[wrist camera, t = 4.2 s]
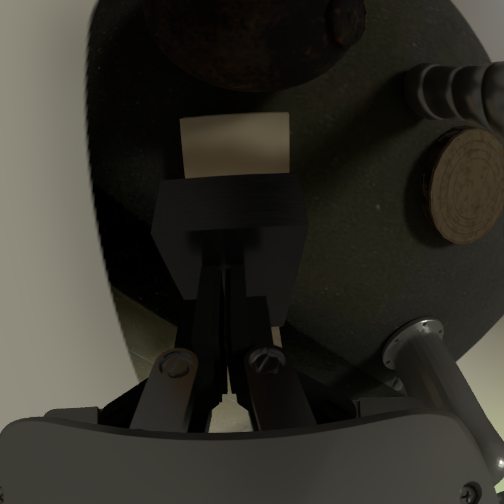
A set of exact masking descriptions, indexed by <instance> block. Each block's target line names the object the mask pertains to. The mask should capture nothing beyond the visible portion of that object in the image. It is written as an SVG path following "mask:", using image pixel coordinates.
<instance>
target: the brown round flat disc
mask: <svg viewBox="0 0 504 504" xmlns="http://www.w3.org/2000/svg"><path fill="white" fill-rule="evenodd" d="M419 188H420V204H421V207H422V209H423V212H424V215H425V218H426V220H427V221H428V222H429V223H430V225H431V226H432V227H433V228H434V229H435V230H436V231H437V232H438V233H439V234H440V235H441V236H443V237H444V238H445V239H447V240H449V241H451V242H453V243H455V244H468V243H470V242H473V241H475V240H478V239H479V238H481V237H482V236H483V235H485V234H486V233H487V232H488V231H489V230H490V229H491V228H492V227H493V225H494V224H495V223H496V221H497V220H498V219H499V217H500V215H501V212H502V210H503V208H504V149H503V147H502V145H501V143H500V142H499V141H498V140H497V139H496V138H495V137H494V136H493V135H492V134H491V133H489V132H486V131H484V130H481V129H478V128H474V127H471V126H467V125H465V126H457V127H453V128H451V129H450V130H448V131H446V132H445V133H443V134H442V135H440V137H439V138H438V139H437V141H436V142H435V143H434V144H433V146H432V147H431V148H430V150H429V152H428V155H427V157H426V159H425V162H424V164H423V167H422V173H421V179H420V184H419Z"/></svg>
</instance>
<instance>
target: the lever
mask: <svg viewBox="0 0 504 504" xmlns="http://www.w3.org/2000/svg"><path fill="white" fill-rule="evenodd" d="M308 226H309V223H308V219H307V214H306V209H305V204H304V200H303V195H302V191H301V186H300V182H299V177H298V173H266V174H242V175H224V176H209V177H196V178H184V179H173V180H163V181H161V182H160V187H159V192H158V197H157V202H156V207H155V212H154V218H153V223H152V229H151V235H152V237H153V239H154V241H155V243H156V246H157V248H158V250H159V252H160V254H161V256H162V258H163V260H164V262H165V264H166V266H167V268H168V270H169V272H170V274H171V276H172V278H173V280H174V281H175V283H176V285H177V287H178V289H179V291H180V293H181V295H182V297H183V299H184V300H192V299H197V293H198V286H199V279H200V272H201V267H202V266H216V269H221V272H222V281H223V290H224V298H225V269H229V268H231V265H235V264H244V267H245V281H246V295H247V297H251V296H266V298H267V304H268V310H269V317H270V323H271V327H279V326H283V325H284V321H285V318H286V314H287V310H288V306H289V303H290V299H291V295H292V291H293V287H294V284H295V280H296V276H297V272H298V268H299V264H300V260H301V256H302V252H303V247H304V243H305V239H306V235H307V231H308Z"/></svg>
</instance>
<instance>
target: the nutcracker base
mask: <svg viewBox="0 0 504 504" xmlns="http://www.w3.org/2000/svg"><path fill="white" fill-rule="evenodd" d="M180 129H181V141H182V152H183V162H184V172H185V178H196V177H209V176H224V175H242V174H266V173H289V113H286V112H251V113H230V114H215V115H203V116H193V117H185V118H182V119H180ZM271 329H272V336H273V342H274V345H277V346H279V347H281V348H282V345H281V338H280V332H279V327H271ZM227 379H229V372H228V366H227Z"/></svg>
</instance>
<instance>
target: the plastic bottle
mask: <svg viewBox="0 0 504 504" xmlns="http://www.w3.org/2000/svg"><path fill="white" fill-rule="evenodd" d="M403 89H404V95H405V99H406V101H407V103H408V105H409V106H410V108H411V109H412V110H413V111H414V112H415V113H416V114H418V115H420V116H422V117H424V118H426V119H428V120H447V119H450V120H461V121H465V122H469V123H472V124H475V125H478V126H480V127H482V128H484V129H486V130H488V131H490V132H492V133H494V134H496V135H498V136H500V137H502V138H504V61H503V62H494V63H488V64H483V65H478V66H466V67H453V66H443V65H440V64H436V63H426V62H425V63H421V64H418V65H416V66H414V67H412V68H411V69H410V70H409V71H408V72H407V74H406V76H405V79H404V86H403Z"/></svg>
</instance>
